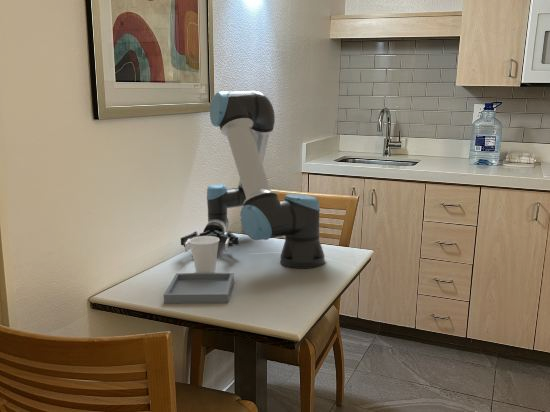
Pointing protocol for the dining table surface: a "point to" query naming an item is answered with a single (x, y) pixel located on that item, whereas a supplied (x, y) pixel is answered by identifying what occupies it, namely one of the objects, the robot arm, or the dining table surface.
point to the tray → (199, 288)
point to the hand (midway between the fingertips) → (206, 247)
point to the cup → (204, 253)
